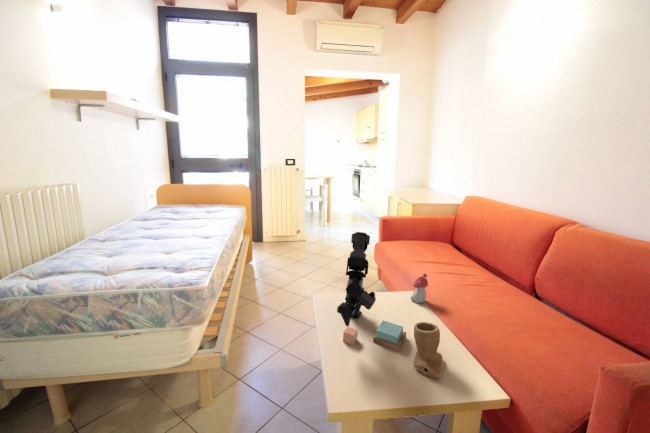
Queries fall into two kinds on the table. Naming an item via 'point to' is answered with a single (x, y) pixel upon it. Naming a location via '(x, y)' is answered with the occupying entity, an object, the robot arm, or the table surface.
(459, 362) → the table surface
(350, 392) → the table surface
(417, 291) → the decorative ornament
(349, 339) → the terracotta cube
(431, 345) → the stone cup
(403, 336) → the tower base
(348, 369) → the table surface
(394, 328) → the tower top
